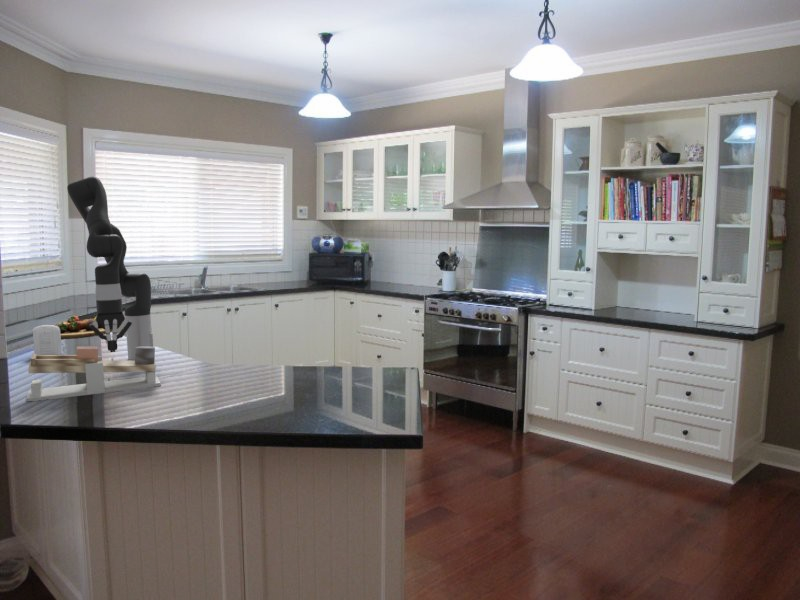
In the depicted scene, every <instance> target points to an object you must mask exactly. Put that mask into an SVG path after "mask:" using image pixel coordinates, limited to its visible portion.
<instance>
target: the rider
mask: <svg viewBox="0 0 800 600" xmlns="http://www.w3.org/2000/svg"><path fill="white" fill-rule="evenodd" d="M76 355H77V356H76V359H95V363H98V356H99V348H98V346H89V345H88V346H82V345H81V346H76Z"/></svg>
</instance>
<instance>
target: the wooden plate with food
mask: <svg viewBox="0 0 800 600" xmlns="http://www.w3.org/2000/svg"><path fill="white" fill-rule="evenodd" d="M96 317H97V315H96V316H95V317H94V318H93V319H92V318H89V319H80V318H79V316H77V315H72V316H70V318H67V321H61V322H59V323H56V325H54V326H58V327H59V328H60V334H61V340H62V339H76V338H77V339H79V338H78V337H80V338H88V337H87V336H89V337H95V336H94V335H96V336H98V335H97V334H96V333H95V332H94V331H93V330H92V329H91V328H90V324H92V323H93V322H95V321H96ZM97 325H98V328H97V329H98V330H99V331H100V332H101V333H102V334H103V335H106V334H105V333H106V331H105V330H104V329H103V328H102V327H101V326H100V325H99V324H98V323H97ZM111 332H112V329H110V333H111Z"/></svg>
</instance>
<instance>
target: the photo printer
mask: <svg viewBox="0 0 800 600" xmlns="http://www.w3.org/2000/svg"><path fill="white" fill-rule="evenodd" d="M32 329H33V330H32V336H33V337H32V338H33V339H32V340H33V350H34V352H33V354H37V355H63V350H62V339H61V334H60V328H59V327H58V326H55V325H52V324H42V325H38V326H35V327H33V328H32Z"/></svg>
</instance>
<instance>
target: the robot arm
mask: <svg viewBox="0 0 800 600" xmlns="http://www.w3.org/2000/svg"><path fill="white" fill-rule="evenodd" d="M67 193H68V195H69V197H70V199H71V201H72V203H73V205H74V206H75V207H76V210H78V212H79V214H80V216H81V218H82V219H83V221H84V223H85V224H86V228H87V231H88V238H87V242H86V251H87V253H88V254H89V256H90V257H92V258H95V259H97V258H100V259H101V258H103V259H104V261H105V262H106V263H104V264H100V265H97V266H96V267H94V276H95V277H94V278H95V280H94V281H95V295H94V296H95V304H96V305H95V306H96V316H97V317H96V316H95V317H96V321H95V322H93V323H92V324H90V328H91V329H92V330H93V331H94V332H95V333H96V334H97V335H96V336H98V338H100V340H104V341H105V340H106V343H107V344H106V345H107V350H108V352H109V353H116V351H117V350H118V340H119V339H122V338H123V337H124V336H125V334H126V348H127V359H128V360H135V347H139V346H150V347H154V336H153V333H152V332H153V331H152V318H151V316H152V315H151V308H152V283H151V279H150V277H149V274H146V273H145V272H143V273H140V272H138V273H137V272H135V273H134V272H133V273H132V272H129V271H128V270H127V268H126V265H125V264H124V263H125V258H126V253H127V250H128V249H127V243H126V240H125V239H124V237H123V234H122V232H121V230H120V229H119V228H118V227H117V226H115V225H114V224H113V223H111V221H110V217H109V211H108V207H109V206H108V198H107V192H106V190H105V187H104V184H103V183H102V181H101V180H100V178H98V177H97V176H95V175H94V176H88V177H85V178H82V179H80V180H77V181H76V180H75V181H73V182H71V183H69V184H67ZM122 297H125V298H135V302H134V303H133V304H132V305H129V306H127V307H125V309H124V312H123V299H122ZM97 323H98V324H99V325H100V326H101V327H102V328H103V329H104V330H105V331H106V334H102V333H101V332H100V331H99V330H98V329H97V328H98V325H97ZM122 324H123V325H122ZM121 325H122V326H123V327H122V329H120V331H119V333H118V329H119V328H120V327H121ZM110 329H112V331H111V332H112V333H111V332H110ZM111 335H112V337H111Z"/></svg>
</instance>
